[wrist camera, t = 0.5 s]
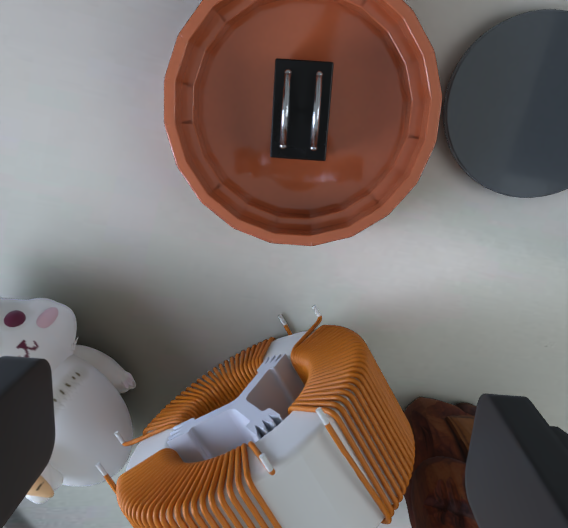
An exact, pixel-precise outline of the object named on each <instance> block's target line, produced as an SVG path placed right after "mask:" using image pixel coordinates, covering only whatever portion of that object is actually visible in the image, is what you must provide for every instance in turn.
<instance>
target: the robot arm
mask: <svg viewBox="0 0 568 528" xmlns="http://www.w3.org/2000/svg"><path fill="white" fill-rule="evenodd" d="M54 444H55V417H54V401H53V386H52V372H51V367H50V364H49V362H48V361H47V360H46V359H41V358H28V357H15V356H2V357H0V528H2V527H3V526H4V525H5V523H6V522H7V520H8V519H9V518H10V516H11V515H12V514H13V512H14V511H15V509H16V508H17V507H18V505H19V504H20V503H21V501H22V500H23V498H24V497H25V496H26V494H27V493H28V491H29V490H30V489H31V487H32V486H33V485H34V483H35V482H36V480H37V479H38V478H39V476H40V475H41V473H42V472H43V471H44V469H45V468H46V466H47V465H48V463H49V460H50V458H51V455H52V452H53V448H54ZM465 487H466V494H467V499H468V502H469V505H470V507H471V510H472V512H473V515H474V517H475V520H476V522H477V524H478V527H479V528H568V434H567V433H566V432H564V431H563V430H561V429H560V428H559V427H554V426H549V425H548V423H547V422H546V421H545V419H544V418H543V417H542V416H541V414H540V413H539V412H538V410H537V409H536V408H535V406H534V405H533V404H532V402H531V401H530V400H529V399H528V398H527V397H523V396H510V395H497V394H482V395H481V397H480V398H479V400H478V403H477V408H476V413H475V418H474V424H473V429H472V435H471V440H470V445H469V451H468V456H467V462H466V468H465Z"/></svg>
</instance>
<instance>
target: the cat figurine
mask: <svg viewBox="0 0 568 528" xmlns="http://www.w3.org/2000/svg"><path fill="white" fill-rule="evenodd" d="M76 332H77V322H76V317H75V315H74V313H73V311H72V310H71V309H70V308H69V307H68V306H66V305H64V304H61V303H58V302H56V301H54V300H51V299H48V298H35V299H28V300H21V299H14V298H0V357H2V356H15V357H28V358H41V359H46V360H47V361H48V362H49V364H50V367H51V372H52V386H53V401H54V417H55V444H54V448H53V452H52V455H51V458H50V460H49V463H48V465H47V466H46V468H45V469H44V471H43V472H42V473H41V475H40V476H39V478H38V479H37V480H36V482H35V483H34V485H33V486H32V487H31V489H30V490H29V491H28V493H27V494H26V496H25V497H26V498H27V499H29V500H30V501H32V502H34V503H37V504H42V503H45V502H46V501H47V500H48V499H49V498H51V497H53V496H54V490H56V489H58V488H59V487H60V486H61V485H68V486H90V485H95V484H99V483H101V482H104V481H106V479H105V478H104V476H103V475H102V474H101V472H100V471H99V470H98V468H97V467H96V464H97V463H99V462H100V463H101V465H102V466H103V467H104V469H105V470H106V472H107V473H108V474H109V476H110V477H113V476H114V475H115V474H117V473H118V472H119V471H120V470H121V469H122V468H123V466H124V465H125V463H126V462H127V460H128V458H129V455H130V452H131V449H132V445H131V446H123V445H122V444H121V443H120V441H119V440H118V438H117V437H116V436H115V434H114V433H115V432H117V431H118V432H119V433H120V434H121V436H122V437H123V439H124V440H125V441H126V442H128V441H130V440H133V427H132V421H131V417H130V414H129V411H128V409H127V406H126V404H125V402H124V400H123V398H122V397H121V395H120V393H125V392H127V391H128V390H129V389H134V388H135V387H136V383H135V381H134V379H133V377H132V375H131V374H130V373H129V372H126V371H125V370H124V369H123V368H122V367H121V366H120V365H119V364H118V363H117V362H116V361H115V360H114V359H113V358H111V357H109V356H108V355H106V354H104V353H102V352H100V351H98V350H96V349H93V348H91V347H87V346H83V345H76V343H77V340H78V338H77V339H76V340H75V337H76ZM78 337H79V336H78Z"/></svg>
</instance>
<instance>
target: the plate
mask: <svg viewBox="0 0 568 528" xmlns="http://www.w3.org/2000/svg"><path fill="white" fill-rule="evenodd" d="M443 123H444V130H445V136H446V139H447V142H448V145H449V148H450V150H451V152H452V154H453V156H454V158H455V160H456V161H457V163H458V164H459V166H460V167H461V168H462V169H463V170H464V171H465V172H466V174H467V175H468V176H470V177H471V178H472V179H473V180H475V181H476V182H477V183H479V184H481V185H482V186H484V187H486V188H488V189H490V190H493V191H495V192H497V193H500V194H504V195H507V196H512V197H520V198H534V197H542V196H547V195H551V194H555V193H558V192H560V191H563V190H566V189H568V11H564V10H556V9H543V10H536V11H530V12H526V13H523V14H519V15H516V16H514V17H512V18H509V19H507V20H505V21H503V22H501V23H499V24H497V25H496V26H494V27H492V28H491V29H489V30H488V31H487V32H485V33H484V34H483V35H481V36H480V37H479V38H478V39H477V40H476V41H475V42H474V43H473V44H472V45H471V46H470V47H469V48H468V50H467V51H466V52H465V53H464V55H463V56H462V58H461V59H460V61H459V62H458V64H457V66H456V67H455V69H454V71H453V74H452V76H451V78H450V81H449V84H448V87H447V90H446V94H445V99H444V108H443Z"/></svg>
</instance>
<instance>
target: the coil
mask: <svg viewBox="0 0 568 528" xmlns="http://www.w3.org/2000/svg"><path fill="white" fill-rule="evenodd" d="M312 308H313V310H314V311H315V313H316V315H317V317H318V319H317V321H316V322H315V323H314V325H313V326H312V327H311V328H310V329H309V330H308V331H304V332H299V333H295V334H292V332H291V331H290V329H289V327H288V325H287V323H286V322H285V320H284V318H283V316H282V315H281V314H280V315H279V316H278V317H279V319H280V321H281V322H282V324H283V326H284V328H285V329H286V331H287V333H288V335H289V336H285V337H282V338H279V339H275V338H274V337H270V338H269V340H267V339H266V340H264V341H263V342H259V343H258V345H253V346H252V348H250V347H248V348H247V350H246V351H244V350H243V351H241V355H240V354H238V353H237V354H236V355H235V358H234V357H230V362H229V361H228V360H225V361H224V363H225V366H223V365H222V364H219V368H220V369H217V368H216V367H214V368H213V370H214V373H212V372H211V371H208V375H209V376H208V377H207V376H206V375H202V379H203V380H201V379H197V384H196V383H192V384H191V387H192V388H191V387H187V388H186V391H182V392H181V393H180V395H177V396H176V397H175V400H171V402H170V404H167V405H166V406H165V409H162V410H161V412H160V413H159V414H157V415H156V418H154V419H152V421H151V423H149V424H148V425H147V427H146V428H145V429H144V430H143V435H142V436H140V437H138V438H135V439H133V440H130V441H128V442H126V441H125V440H124V439H123V437H122V436H121V434H120V433H119V432H118V431H117V432H115V433H114V434H115V436H116V437H117V438H118V440H119V441H120V443H121V444H122V445H123V446H131V445H133V444H135V443H137V442H140V443H139V444H138V446H137V448H136V449H135V451H134V452H133V454H132V456H131V457H130V459H129V462H128V465H127V467H126V470H125V473H123V474H122V475H121V476H120V477H119V478H118V480H117V486H116V484H115V483H114V482H113V480H112V479H111V477H110V476H109V474H108V473H107V472H106V470H105V469H104V467H103V466H102V465H101V463H100V462H99V463H97V464H96V467H97V468H98V470H99V471H100V472H101V474H102V475H103V476H104V478H105V479H106V481H107V482H108V484H109V485H110V486H111V488H112V489H113V491H114V492H115V494H116V495H117V501H118V504H119V506H120V509H121V511H122V512H123V513H124V515H125V516H126V518H127V519H128V521H129V522H130V523H131V525H132V526H133V527H134V528H376V527H377V526H378V525H379V524H380V523H383V524H390V523H391V521H392V518H391V517H392V516H393V515H394V510H396V509H397V508H398V506H399V502H401V501H402V499H403V495H404V494H405V493H406V488H407V486H408V485H409V480H410V479H411V476H412V475H411V473H412V471H413V465H414V458H415V446H414V445H415V441H414V435H413V433H412V429H411V426H410V423H409V422H408V419H407V418H406V416H405V414H404V412H403V410H402V408H401V407H400V405H399V403H398V401H397V399H396V398H395V396H394V394H393V392H392V390H391V388H390V387H389V385H388V383H387V381H386V379H385V377H384V376H383V374H382V372H381V370H380V368H379V366H378V365H377V363H376V361H375V359H374V357H373V355H372V354H371V352H370V350H369V348H368V346H367V344H366V343H365V342H364V340H363V339H362V338H361V337H360V336H359V335H358V334H357V333H355V332H354V331H352V330H350V329H348V328H345V327H341V326H336V325H322V326H320V327H319V328H318V329H316V330H314V329H315V328H316V327H317V326H318V325H319V324H320V322H321V320H322V316H321V314H320V312H319V310H318V308H317V307H316V305H314V306H312ZM384 517H385V518H384Z"/></svg>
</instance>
